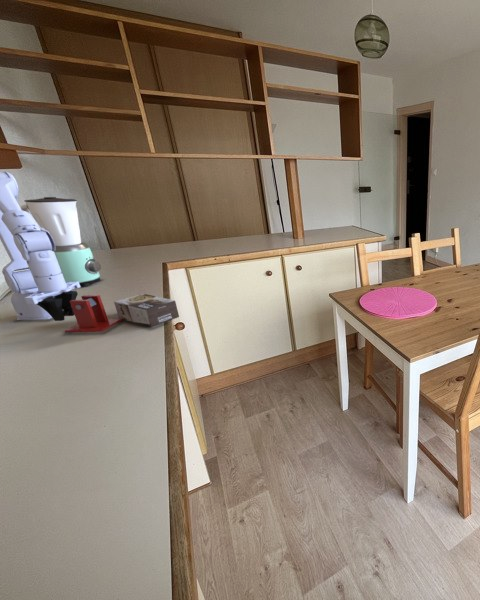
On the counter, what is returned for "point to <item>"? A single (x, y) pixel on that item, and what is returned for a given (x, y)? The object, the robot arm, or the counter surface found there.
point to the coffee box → (146, 309)
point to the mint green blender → (65, 238)
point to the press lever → (66, 310)
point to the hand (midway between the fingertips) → (64, 318)
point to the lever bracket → (90, 315)
